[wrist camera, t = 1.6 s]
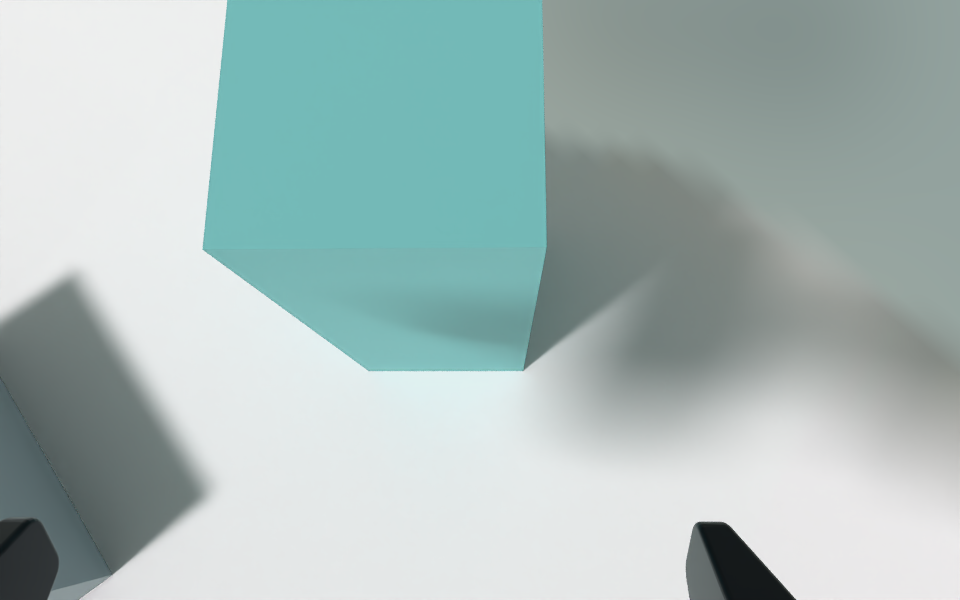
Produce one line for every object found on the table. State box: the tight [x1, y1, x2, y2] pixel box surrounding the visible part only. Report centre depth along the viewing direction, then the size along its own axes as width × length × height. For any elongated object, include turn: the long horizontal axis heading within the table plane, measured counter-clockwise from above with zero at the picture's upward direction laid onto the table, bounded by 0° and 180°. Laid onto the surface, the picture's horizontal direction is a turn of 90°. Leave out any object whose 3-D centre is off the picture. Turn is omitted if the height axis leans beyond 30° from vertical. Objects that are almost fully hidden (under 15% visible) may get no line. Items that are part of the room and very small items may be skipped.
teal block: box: [203, 0, 547, 371], centre depth 17 cm, size 5×5×13 cm
